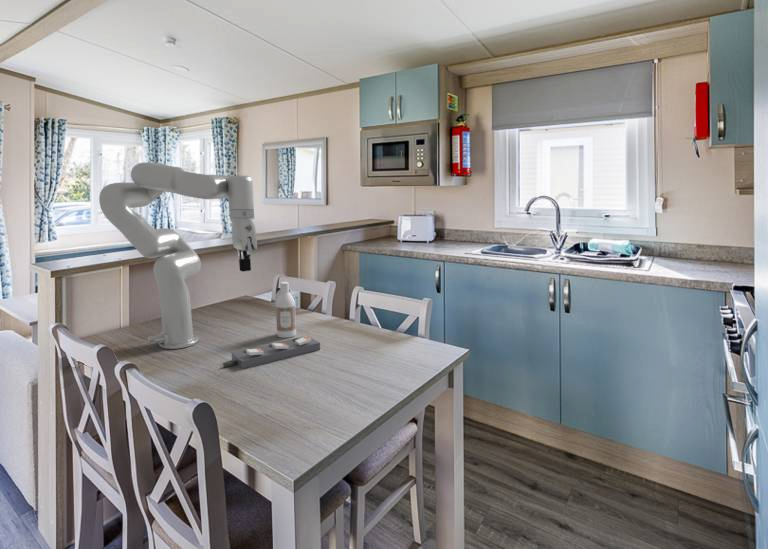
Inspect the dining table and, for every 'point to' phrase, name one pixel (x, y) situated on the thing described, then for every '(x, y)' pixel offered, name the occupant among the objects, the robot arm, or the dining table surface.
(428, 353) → the dining table surface
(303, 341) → the rocker right
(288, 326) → the bath foam
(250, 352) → the rocker left
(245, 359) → the power strip
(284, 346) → the rocker middle
